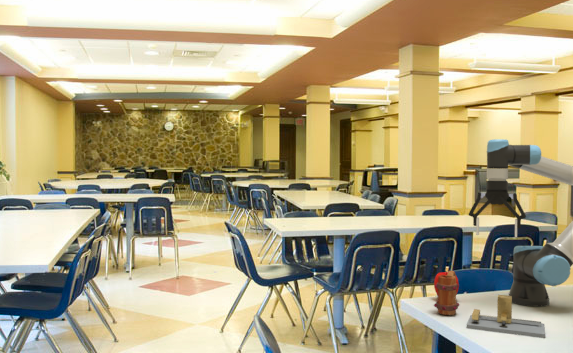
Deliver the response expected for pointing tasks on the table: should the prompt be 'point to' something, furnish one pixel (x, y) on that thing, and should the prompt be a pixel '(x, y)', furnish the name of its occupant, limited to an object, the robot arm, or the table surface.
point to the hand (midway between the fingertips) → (496, 235)
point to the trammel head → (504, 309)
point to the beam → (477, 315)
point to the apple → (437, 281)
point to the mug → (447, 294)
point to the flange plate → (507, 327)
